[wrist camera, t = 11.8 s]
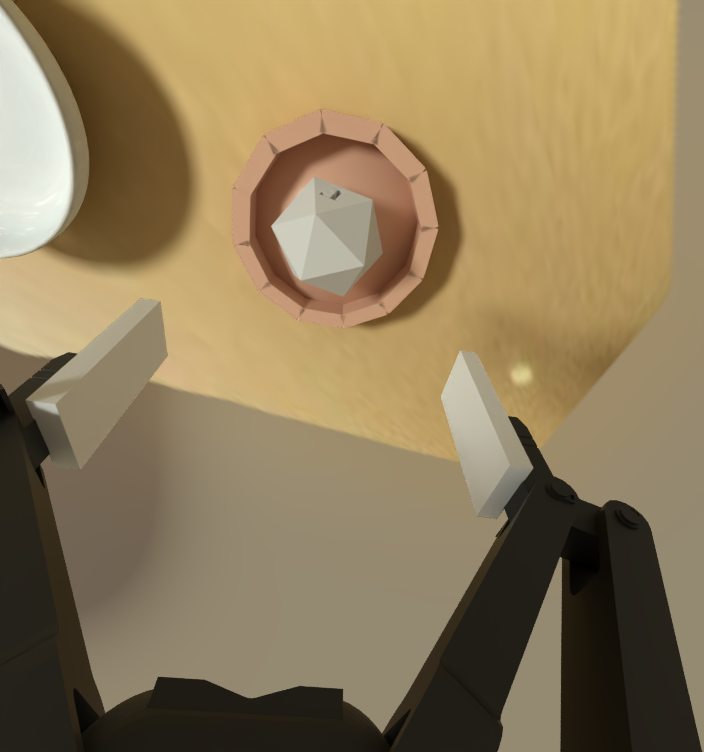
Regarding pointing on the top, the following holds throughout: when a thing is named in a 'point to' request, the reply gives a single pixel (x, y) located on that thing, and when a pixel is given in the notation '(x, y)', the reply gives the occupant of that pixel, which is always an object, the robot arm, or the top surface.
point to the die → (329, 236)
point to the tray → (352, 172)
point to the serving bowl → (36, 140)
